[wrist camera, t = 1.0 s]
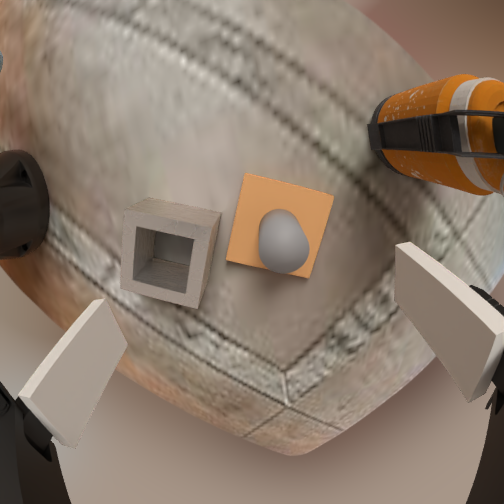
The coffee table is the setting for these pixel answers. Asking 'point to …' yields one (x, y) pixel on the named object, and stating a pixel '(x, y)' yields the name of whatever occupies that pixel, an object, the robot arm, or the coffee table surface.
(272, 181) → the block
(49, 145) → the coffee table surface
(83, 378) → the robot arm
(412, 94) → the canister
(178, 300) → the grey hollow block
